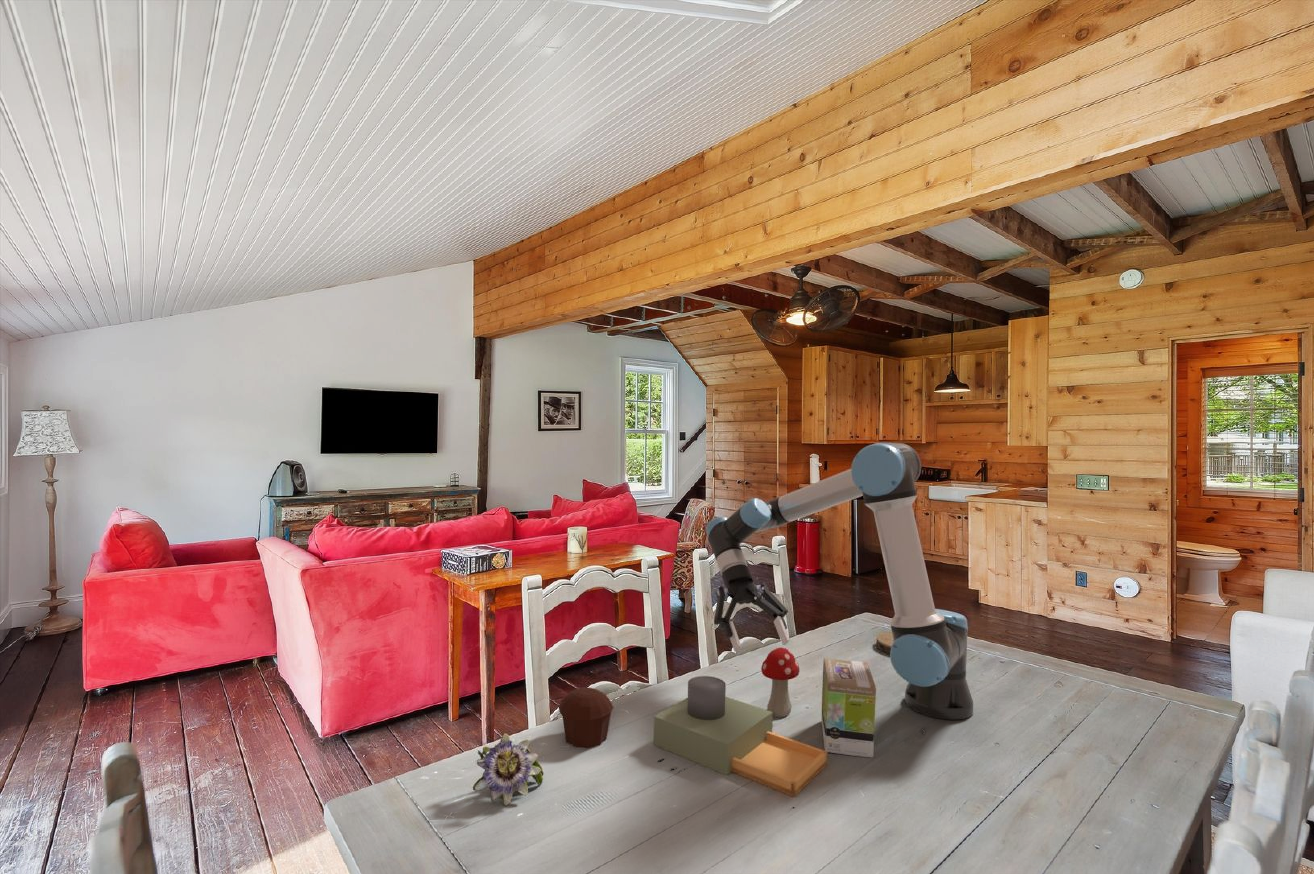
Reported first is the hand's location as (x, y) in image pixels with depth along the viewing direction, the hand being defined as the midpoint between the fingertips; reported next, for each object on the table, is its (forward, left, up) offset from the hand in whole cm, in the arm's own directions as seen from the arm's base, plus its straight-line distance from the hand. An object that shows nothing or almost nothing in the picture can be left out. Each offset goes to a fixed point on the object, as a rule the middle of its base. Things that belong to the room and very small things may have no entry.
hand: (762, 645), depth 156 cm
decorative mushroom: (-6, +3, -13) cm, 15 cm away
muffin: (+20, +41, -14) cm, 47 cm away
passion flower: (+17, +64, -14) cm, 68 cm away
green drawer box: (-9, +25, -13) cm, 30 cm away
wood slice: (-15, -60, -14) cm, 63 cm away
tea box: (-23, +5, -14) cm, 28 cm away
